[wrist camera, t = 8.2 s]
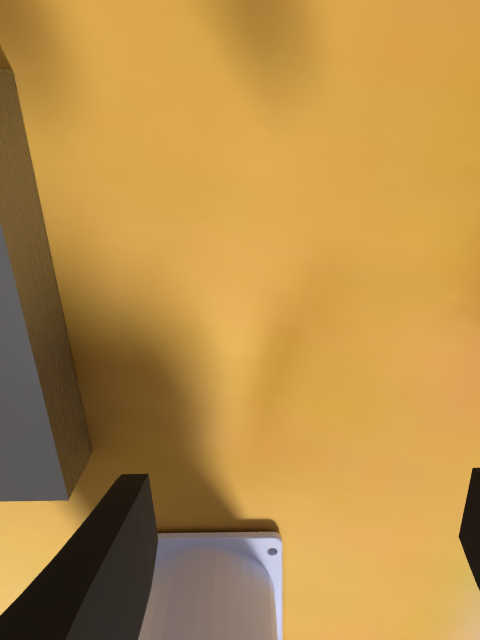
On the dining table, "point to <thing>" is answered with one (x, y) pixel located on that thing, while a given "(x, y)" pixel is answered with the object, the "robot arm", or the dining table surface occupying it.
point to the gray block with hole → (32, 336)
